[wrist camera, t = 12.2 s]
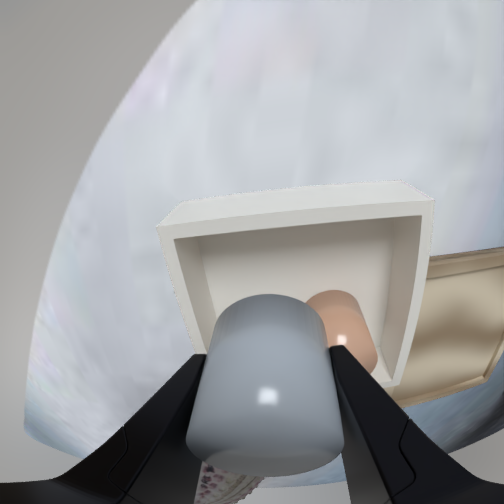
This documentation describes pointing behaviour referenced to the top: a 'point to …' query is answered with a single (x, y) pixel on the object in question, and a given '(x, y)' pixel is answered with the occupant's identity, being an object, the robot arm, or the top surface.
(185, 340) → the top surface
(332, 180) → the top surface
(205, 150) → the top surface
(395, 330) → the square storage bin
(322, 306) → the peach rounded cylinder
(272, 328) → the slate pebble
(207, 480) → the sea urchin shell
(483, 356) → the parts tray
